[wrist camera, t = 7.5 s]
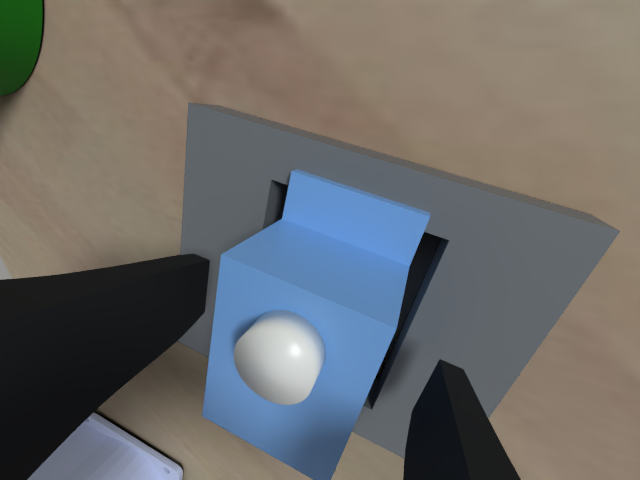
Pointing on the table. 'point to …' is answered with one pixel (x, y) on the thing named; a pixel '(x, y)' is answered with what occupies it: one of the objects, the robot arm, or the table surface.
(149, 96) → the table surface
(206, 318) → the grey flat frame
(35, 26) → the motor
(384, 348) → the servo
